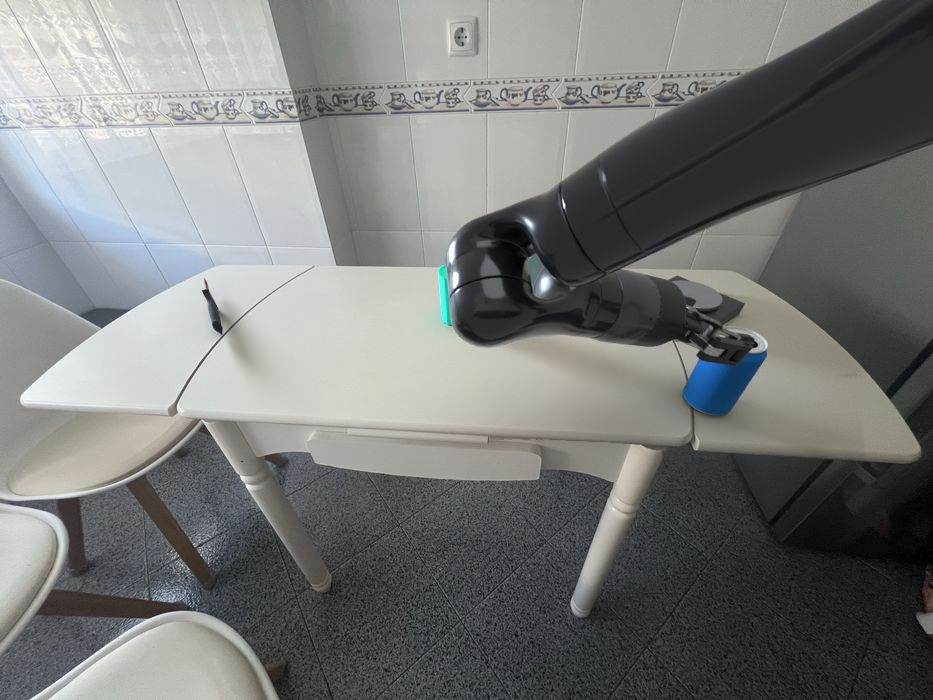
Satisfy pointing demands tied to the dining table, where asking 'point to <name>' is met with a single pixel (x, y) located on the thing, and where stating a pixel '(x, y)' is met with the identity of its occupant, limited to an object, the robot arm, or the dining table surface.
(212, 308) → the knife
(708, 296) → the scale pan
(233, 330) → the dining table surface
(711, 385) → the beverage can
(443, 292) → the candle
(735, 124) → the robot arm
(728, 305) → the scale
